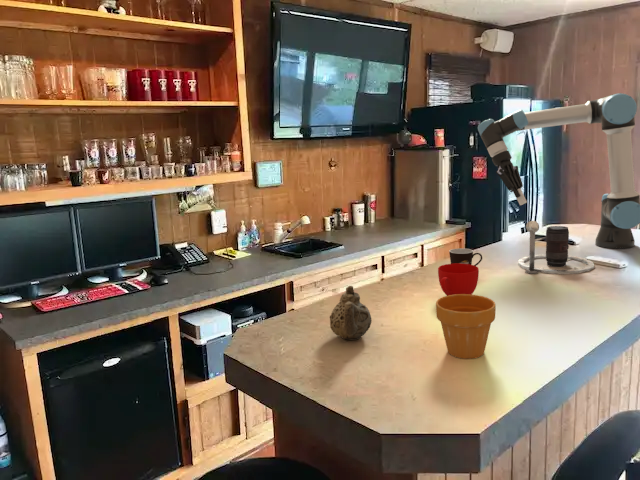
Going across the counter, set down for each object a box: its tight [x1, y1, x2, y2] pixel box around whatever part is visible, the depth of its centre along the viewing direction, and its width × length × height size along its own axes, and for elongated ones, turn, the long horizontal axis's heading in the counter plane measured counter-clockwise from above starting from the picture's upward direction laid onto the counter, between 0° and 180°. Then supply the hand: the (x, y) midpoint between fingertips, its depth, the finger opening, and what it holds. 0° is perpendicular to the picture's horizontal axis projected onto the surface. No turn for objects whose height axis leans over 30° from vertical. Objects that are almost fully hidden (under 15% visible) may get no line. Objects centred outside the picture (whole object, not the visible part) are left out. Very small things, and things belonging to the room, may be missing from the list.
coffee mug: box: [448, 247, 483, 267], centre depth 197 cm, size 12×9×10 cm
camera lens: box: [545, 225, 570, 268], centre depth 206 cm, size 8×8×15 cm
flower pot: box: [435, 294, 497, 360], centre depth 131 cm, size 14×14×13 cm
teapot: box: [329, 285, 373, 340], centre depth 144 cm, size 21×12×15 cm, turn 178°
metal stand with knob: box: [524, 220, 547, 275], centre depth 199 cm, size 11×4×20 cm, turn 125°
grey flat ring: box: [517, 253, 595, 275], centre depth 207 cm, size 27×27×1 cm
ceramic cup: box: [437, 263, 480, 296], centre depth 173 cm, size 13×17×10 cm
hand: (523, 203), depth 220 cm, fingers closed
